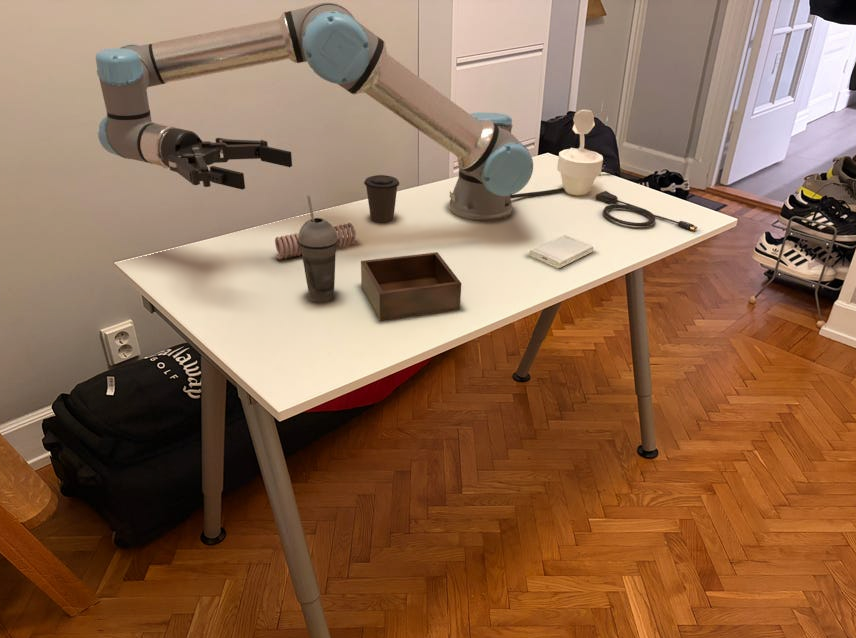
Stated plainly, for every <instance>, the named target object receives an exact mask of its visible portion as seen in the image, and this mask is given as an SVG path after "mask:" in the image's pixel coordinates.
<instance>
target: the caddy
mask: <svg viewBox="0 0 856 638" xmlns="http://www.w3.org/2000/svg"><path fill="white" fill-rule="evenodd" d="M360 279H361V280H360V281H361V282H360V283H361V288H362V290H363V292H364V294H365V297H366V298H367V299H368V301H369V303H370V305H371V307H372V309H373V310H374V312H375V315H376V316H377V319H378V320H379V321H381V322H382V321H388V320H394V319H402V318H409V317H415V316H423V315H431V314H436V313H443V312H450V311H458V310H460V309H461V299H462V298H461V297H462V296H461V295H462V282H461V281H460V279H459V277H457V275H456V274H455V273H454V272H453V270H452V269H451V267H450V266H449V265H448V264H447V262H446V261H445V260H444V258H443V257H442V256H441V254H439V252H437V251H436V252H435V251H434V252H427V253H417V254H410V255H409V254H408V255H401V256H392V257H383V258H373V259H366V260H360Z"/></svg>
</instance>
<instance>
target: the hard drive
mask: <svg viewBox="0 0 856 638" xmlns="http://www.w3.org/2000/svg"><path fill="white" fill-rule="evenodd" d="M593 252H594V246H593V245H592V244H590V243H587V242H584V241H581V240H579V239H576V238H574V237H571V236H569V235H566V234H564V235H562V236H559V237H557V238H555V239H553V240H550V241H548V242H546V243H544V244H541V245H539V246H536V247H535V248H533V249H531V250H530V251H529V256H530V258H533V259H535V260H537V261H539V262H542V263H545V264H547V265H548V266H551V267H554V268H556V269H560V268H562V267H565V266H567V265H568V264H571V263H573V262H574V261H577V260H579V259H581V258H583V257H585V256H587V255H589V254H591V253H593Z"/></svg>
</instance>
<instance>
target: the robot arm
mask: <svg viewBox="0 0 856 638" xmlns="http://www.w3.org/2000/svg"><path fill="white" fill-rule="evenodd" d="M287 60H288V61H289V60H290V61H291V62H292V63H294V64H300V63H307V64H308V66H309V67H310V68H311V69H312V71H313V73H314V74H316V75H317V76H318V77H320V78H321V79H322V80H324V81H327V82H330V84H331V83H332V84H336V85H338V86H339V87H341V88H342V89H344V90H345V91H346V92H348V93H350V94H351V95H353V96H356V95H360V94H365V95H366V96H368V97H370V98H371V99H373V100H374V101H376V103H378V104H380V105H381V106H383V107H384V108H386V109H387V110H389V111H390V112H391V113H393V114H394V115H396V116H397V117H398V118H400V119H401V120H403V121H405V122H406V123H408V124H409V125H410V126H412V127H413V128H415V129H416V130H418V131H419V132H421V133H422V134H424V135H425V136H426V137H428V138H429V139H431V140H433V142H435V143H437V144H438V145H440V146H441V147H443V148H444V149H446V150H447V151H448V152H449V153H451V154H453V155H454V156H455V157H457V158H456V159H457V165H458V178H457V180H456V183H455V185H454V188H453V191H451V190H449V198H450V199H449V210H450V212H451V213H452V214H454V215H455V216H456V217H457V216H458V217H459V218H462V219H465V220H468V221H469V220H470V221H476V222H494V221H500V220H504V219H506V218H508V217H509V216H510V215H511V214H512V210H513V209H512V208H513V202H512V199H517V198H526V197H533V196H535V197H536V196H543V195H550V194H556V193H562V192H565V191H564V188H563V187H559V188H553V189H548V190H541V191H531V192H530V191H529V192H522V193H519V192H520V191H521V190H523V189H524V188H525V187H526V186H527V184H529V182H530V180H531V178H532V176H533V173H534V159H533V156H532V154H531V152H530V150H529V148H528V147H526V145H524V144H523V143H522V142H521V141H520V140H519V139H518V138H517V137H516V136H515V135H514V134H513V133H512V130H513V129H512V128H513V118H512V116H510V115H508V114H505V113H500V112H499V113H498V112H471V113H469V112H467V110H465V109H464V108H462V107H460V106H459V105H458V104H457V103H456V102H454V101H453V100H451V99H450V98H448V97H447V96H445V95H444V94H443V93H442V92H440V91H439V90H437V89H436V88H435V87H433V86H432V85H431V84H429V83H428V82H426V81H425V80H423V78H421V77H420V76H418V75H417V74H415V73H414V72H413V71H411V70H410V69H409V68H407V67H406V65H403V63H400V61H398V60H397V59H395V58H394V57H392V56H391V55H390V54H389V53H388V49H387V45H386V42H385V40H383V39H382V38H380V37H379V36H378V35H376V34H375V33H374V32H373V31H371V30H370V29H368V28H367V27H366V26H364V25H363V24H362V23H360V22H359V21H358V20H357V19H356V18H355V16H354V15H353V14H352V13H351V12H350V11H349V10H348V9H347V8H346V7H344V6H342V5H340V4H338V3H334V2H320V3H316V4H313V5H309V6H305V7H301V8H297V9H294V10H289V11H284V12H282V13H281V15H280V16H279V18H278V19H271V20H267V21H262V22H257V23H252V24H251V23H250V24H247V25H242V26H235V27H230V28H225V29H220V30H214V31H209V32H204V33H200V34H195V35H189V36H183V37H178V38H173V39H168V40H162V41H157V42H152V43H148V44H142V45H139V44H135V43H130V44H125V45H123V46H121V47H119V48H118V47H117V48H106V49H103V50H100V51H98V52H97V53H96V54H95V63H96V74H97V76H98V79H99V83H100V88H101V91H102V92H101V93H102V97H103V101H104V105H105V106H104V107H105V111H106V116H104V117H103V118H102V119H101V121H100V122H99V125H98V132H97V137H98V140H99V143H100V144H101V146H102V148H103V149H104V150H105V151H107V152H108V153H110V154H113V155H116V156H118V157H120V158H123V159H126V160H127V159H128V160H133V161H139V162H143V163H148V164H151V165H156V166H160V167H162V168H163V169H169V171H171V172H174V173H177V174H179V175H180V176H181V177H182V178H183V179H185V180H186V181H188V182H189V183H190V184H192V185H193V186H198V185H201V182H202V185H203V187H204V188H210V187H211V185H212V184H211V183H214V184H217V185H220V186H226V187H230V188H233V189H237V190H242V191H243V190H245V189H246V183H245V174H244V172H240V171H236V170H232V169H229V168H223V167H219V166H216V165H213V164H215V163H216V164H217V163H228V161H230V160H231V161H232V160H259V159H260V161H261V162H264V163H268V164H274V165H278V166H281V167H287V168H291V167H293V158H292V151H289V150H285V149H280V148H276V147H270V146H269V145H268V140H264V139H260V140H253V139H252V140H251V139H231V138H229V139H228V138H222V137H216V138H215V142H212V141H208V140H207V141H206V140H204V141H203V140H202V139H201V138H200V136H199V135H198V134H197V133H196V132H194V131H192V130H187V129H185V128H179V127H175V126H171V125H165V124H160V123H155V122H153V120H152V115H151V109H150V103H149V98H148V97H149V96H148V91H147V90H148V88H151V87H156V86H161V85H165V84H168V83H174V82H175V83H176V82H180V81H185V80H190V79H195V78H200V77H206V76H210V75H217V74H222V73H226V72H231V71H236V70H241V69H246V68H251V67H257V66H261V65H268V64H272V63H277V62H282V61H287ZM221 154H222V156H221ZM210 165H211V166H210ZM208 166H209V167H208ZM601 173H609V174H610V175H612V176H616V172H615V171H613V170H612V169H611V168H602V169H601Z"/></svg>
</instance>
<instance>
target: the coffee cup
mask: <svg viewBox="0 0 856 638" xmlns="http://www.w3.org/2000/svg"><path fill="white" fill-rule="evenodd" d="M363 184H364V185H365V187H366V194H367V201H368V208H369V215H370V216H369V217H370V221H371V222H373V223H376V224H383V225H385V224H389V223H392V222H393V221H394V218H395V209H396V201H397V200H396V199H397V194H398V193H397V192H398V187H399V185H400V181H399V179H397V177H394V176H392V175H385V174H377V175H370V176H368V177H367V178H365V180H364V181H363Z"/></svg>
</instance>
